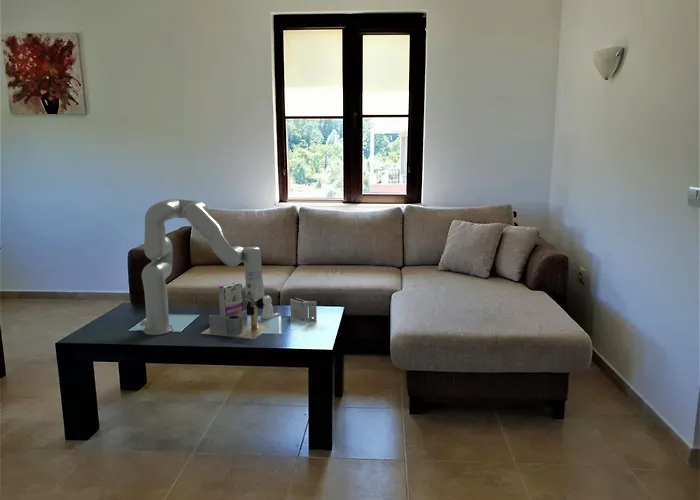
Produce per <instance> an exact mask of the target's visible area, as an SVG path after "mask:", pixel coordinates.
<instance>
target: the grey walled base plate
mask: <svg viewBox="0 0 700 500" xmlns="http://www.w3.org/2000/svg"><path fill="white" fill-rule="evenodd" d="M208 325H209V326H208V328H207V329H205V330H204V331H202V332H200V334H203V335H212V336H213V335H214V336H221V337H222V336H224V337H231V338H241V339H253V340H255V339H256V338H257V337H259V336H261V335H262V333H264V332H266V331H267V330H268V329H269V328H271V327H272V326H273V325H274V324H272V323H271V324H270V323H259V322H258V329H252V328H251V321H248V315H247V309H243V311H242V312H241V313H239V314H238V315H232V316H220V315H215V314H214V315H213V314H208Z"/></svg>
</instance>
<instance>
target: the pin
mask: <svg viewBox="0 0 700 500" xmlns="http://www.w3.org/2000/svg"><path fill="white" fill-rule="evenodd" d="M253 306H254V315H250V322H251V328H252V329H258V323H259V315H258V310H259V309H258V307H257V306H256V305H253Z"/></svg>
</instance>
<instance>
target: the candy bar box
mask: <svg viewBox="0 0 700 500" xmlns="http://www.w3.org/2000/svg"><path fill="white" fill-rule="evenodd" d="M217 288H218V303H219V314H220V315H219V316H232V315H238V314H239V313H241V312H242V311H244V300H243V299H244V298H243V284H242V282H238V281H235V282H231V283H227V284H222V285H219V286H218V287H217Z"/></svg>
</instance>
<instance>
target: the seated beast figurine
mask: <svg viewBox="0 0 700 500" xmlns="http://www.w3.org/2000/svg"><path fill="white" fill-rule="evenodd" d="M272 302H273V300H272V297H271V296H270V295H269V294H268V295H264V296H263V309H262V313H261V318H262V319H263V320H270V319H273V318H276V317H281V316H282V314H281V313H279V312H276V313H274V307H273V305H272Z"/></svg>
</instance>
